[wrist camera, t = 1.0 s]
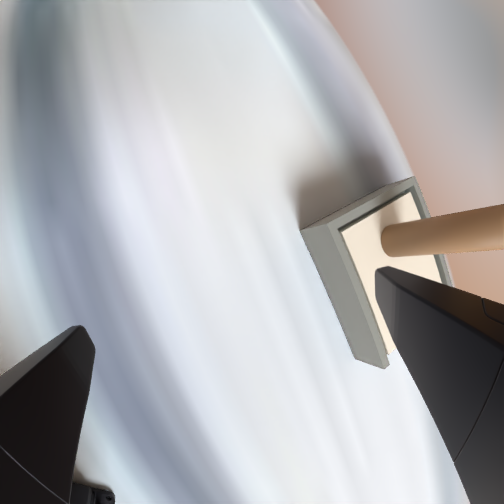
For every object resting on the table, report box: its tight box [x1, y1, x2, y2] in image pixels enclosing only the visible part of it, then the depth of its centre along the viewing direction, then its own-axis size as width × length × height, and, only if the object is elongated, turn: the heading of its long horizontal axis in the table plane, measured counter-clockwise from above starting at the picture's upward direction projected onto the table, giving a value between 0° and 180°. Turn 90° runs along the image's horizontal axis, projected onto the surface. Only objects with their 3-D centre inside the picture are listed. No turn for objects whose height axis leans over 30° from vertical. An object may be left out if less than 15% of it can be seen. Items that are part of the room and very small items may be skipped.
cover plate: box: [339, 192, 504, 355], centre depth 18 cm, size 10×8×11 cm
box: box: [300, 176, 453, 369], centre depth 24 cm, size 12×10×4 cm
